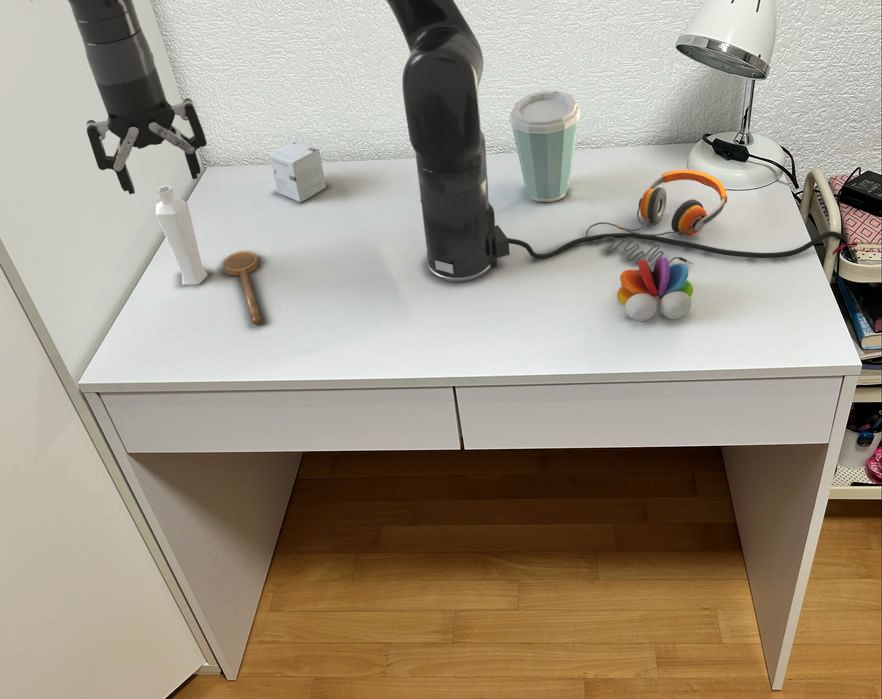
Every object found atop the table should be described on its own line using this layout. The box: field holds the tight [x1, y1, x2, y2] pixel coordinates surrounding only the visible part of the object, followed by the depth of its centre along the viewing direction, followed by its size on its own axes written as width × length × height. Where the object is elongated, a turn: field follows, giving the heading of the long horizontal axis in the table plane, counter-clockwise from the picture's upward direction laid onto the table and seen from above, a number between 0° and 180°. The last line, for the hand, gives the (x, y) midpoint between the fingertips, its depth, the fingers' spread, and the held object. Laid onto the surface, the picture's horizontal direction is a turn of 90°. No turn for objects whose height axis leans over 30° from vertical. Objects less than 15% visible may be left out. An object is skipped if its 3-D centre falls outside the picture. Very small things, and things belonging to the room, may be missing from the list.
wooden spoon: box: [222, 250, 262, 325], centre depth 125 cm, size 18×5×1 cm, turn 18°
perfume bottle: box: [155, 184, 209, 286], centre depth 124 cm, size 5×4×15 cm
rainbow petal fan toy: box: [616, 256, 694, 322], centre depth 112 cm, size 8×10×7 cm
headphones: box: [585, 169, 728, 267], centre depth 126 cm, size 17×5×20 cm
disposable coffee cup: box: [508, 90, 582, 203], centre depth 134 cm, size 11×11×15 cm
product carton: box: [268, 139, 327, 203], centre depth 143 cm, size 6×6×7 cm
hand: (163, 183), depth 118 cm, fingers open, 8 cm apart
